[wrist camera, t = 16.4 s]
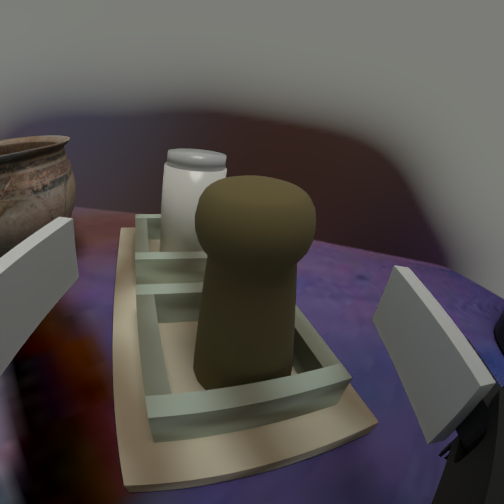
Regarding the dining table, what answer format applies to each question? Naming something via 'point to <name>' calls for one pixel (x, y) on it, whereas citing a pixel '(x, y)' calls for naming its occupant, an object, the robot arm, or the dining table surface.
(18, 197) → the cooking pot
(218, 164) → the salt shaker
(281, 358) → the pepper mill
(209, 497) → the dining table surface
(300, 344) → the condiment caddy
